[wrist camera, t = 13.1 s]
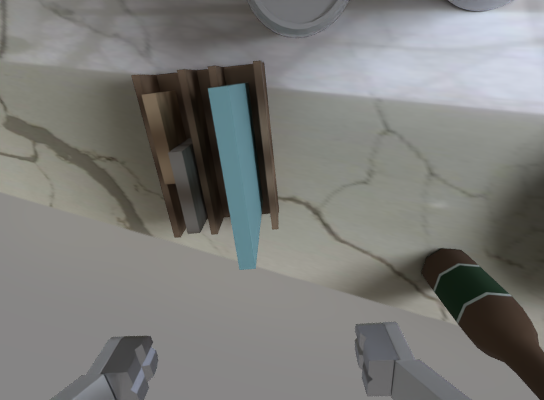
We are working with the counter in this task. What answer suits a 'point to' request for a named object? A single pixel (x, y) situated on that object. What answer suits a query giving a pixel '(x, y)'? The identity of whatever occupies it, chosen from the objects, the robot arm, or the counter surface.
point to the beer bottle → (487, 314)
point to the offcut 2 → (188, 186)
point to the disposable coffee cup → (297, 15)
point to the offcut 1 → (164, 127)
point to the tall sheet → (239, 166)
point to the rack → (213, 136)
